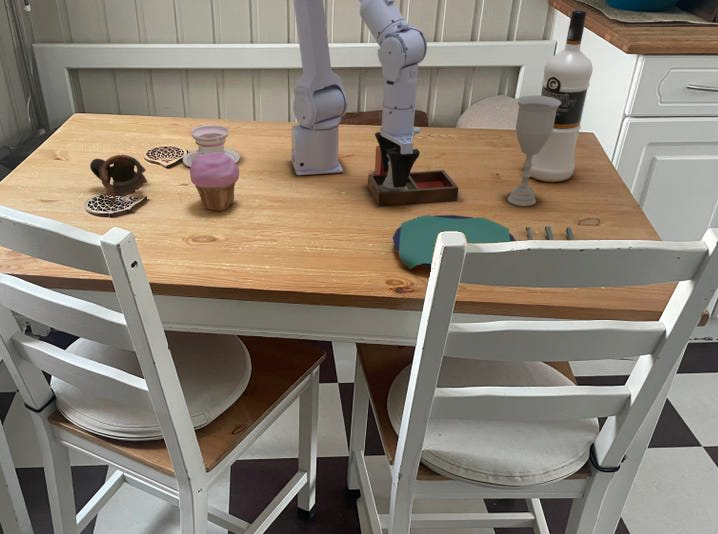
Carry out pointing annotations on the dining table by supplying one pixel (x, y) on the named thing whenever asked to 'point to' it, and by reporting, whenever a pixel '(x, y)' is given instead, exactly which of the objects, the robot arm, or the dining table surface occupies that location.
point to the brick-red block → (379, 162)
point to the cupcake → (214, 179)
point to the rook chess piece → (390, 181)
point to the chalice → (532, 138)
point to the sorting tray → (415, 189)
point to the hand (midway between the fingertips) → (394, 178)
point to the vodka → (564, 104)
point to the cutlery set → (422, 231)
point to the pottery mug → (119, 175)
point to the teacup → (209, 142)
